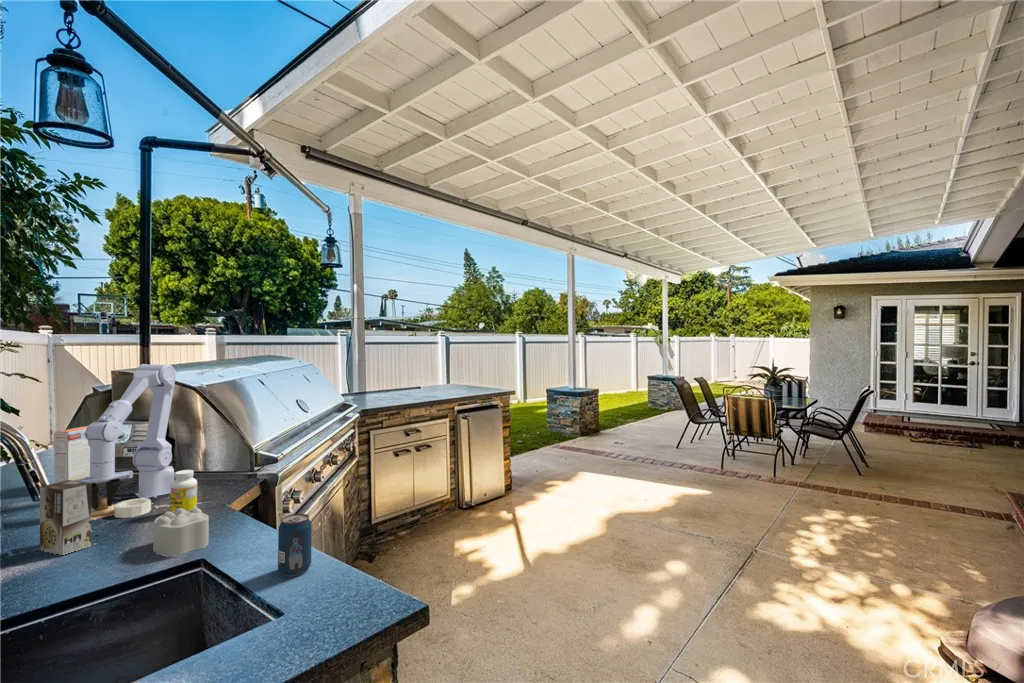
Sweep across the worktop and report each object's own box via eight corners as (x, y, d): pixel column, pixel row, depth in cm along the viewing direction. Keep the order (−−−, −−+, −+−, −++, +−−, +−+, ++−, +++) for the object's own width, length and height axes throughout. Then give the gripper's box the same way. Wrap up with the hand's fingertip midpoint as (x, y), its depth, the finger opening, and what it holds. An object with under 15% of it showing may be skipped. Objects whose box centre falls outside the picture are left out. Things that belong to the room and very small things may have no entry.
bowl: (146, 507, 151) (146, 496, 151) (153, 514, 145) (154, 502, 145) (111, 515, 144) (111, 503, 144) (118, 521, 139) (118, 509, 139)
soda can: (298, 561, 115) (299, 510, 115) (317, 568, 112) (318, 516, 112) (271, 573, 109) (271, 519, 109) (290, 580, 106) (291, 525, 106)
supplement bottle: (164, 516, 143) (165, 473, 143) (187, 509, 149) (187, 467, 150) (179, 519, 141) (180, 475, 141) (202, 512, 147) (202, 470, 147)
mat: (119, 506, 152) (119, 504, 152) (126, 513, 145) (126, 511, 145) (76, 514, 144) (76, 512, 144) (82, 523, 138) (82, 521, 138)
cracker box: (91, 480, 179) (92, 424, 179) (106, 481, 178) (107, 424, 178) (52, 492, 165) (53, 431, 165) (68, 493, 164) (68, 431, 165)
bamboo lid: (115, 505, 150) (115, 491, 150) (122, 511, 145) (122, 496, 145) (81, 512, 144) (81, 497, 144) (87, 518, 139) (87, 503, 139)
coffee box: (92, 546, 122) (93, 482, 122) (61, 557, 116) (62, 489, 116) (69, 541, 125) (70, 478, 125) (38, 551, 119) (38, 485, 119)
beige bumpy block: (169, 560, 115) (169, 523, 115) (143, 547, 122) (143, 513, 122) (214, 544, 124) (214, 510, 124) (187, 534, 131) (188, 502, 131)
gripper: (126, 455, 153) (126, 498, 153) (66, 464, 141) (65, 511, 141) (135, 458, 149) (135, 502, 149) (74, 468, 137) (73, 516, 137)
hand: (102, 506), depth 145 cm, fingers closed on bamboo lid, 3 cm apart
